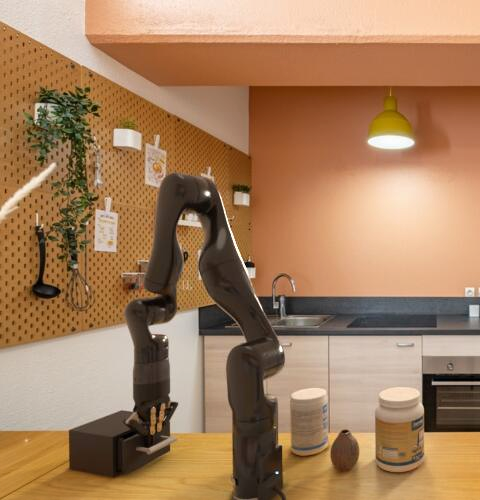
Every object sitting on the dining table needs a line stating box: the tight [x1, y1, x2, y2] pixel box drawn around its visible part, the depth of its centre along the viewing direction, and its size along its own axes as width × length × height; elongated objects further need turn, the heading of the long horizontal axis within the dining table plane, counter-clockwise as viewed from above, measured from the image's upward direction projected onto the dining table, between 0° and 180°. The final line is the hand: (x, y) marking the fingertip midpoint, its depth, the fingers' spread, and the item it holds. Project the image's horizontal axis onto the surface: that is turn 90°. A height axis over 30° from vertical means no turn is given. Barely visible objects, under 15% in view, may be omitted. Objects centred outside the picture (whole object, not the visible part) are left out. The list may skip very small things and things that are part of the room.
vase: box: [329, 428, 360, 472], centre depth 99 cm, size 7×7×9 cm
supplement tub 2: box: [374, 386, 425, 473], centre depth 101 cm, size 12×12×17 cm
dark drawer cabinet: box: [68, 409, 141, 478], centre depth 103 cm, size 15×13×10 cm
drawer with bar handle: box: [116, 420, 178, 475], centre depth 101 cm, size 18×11×8 cm, turn 74°
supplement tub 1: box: [289, 387, 329, 457], centre depth 108 cm, size 10×10×15 cm
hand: (152, 447), depth 100 cm, fingers closed
